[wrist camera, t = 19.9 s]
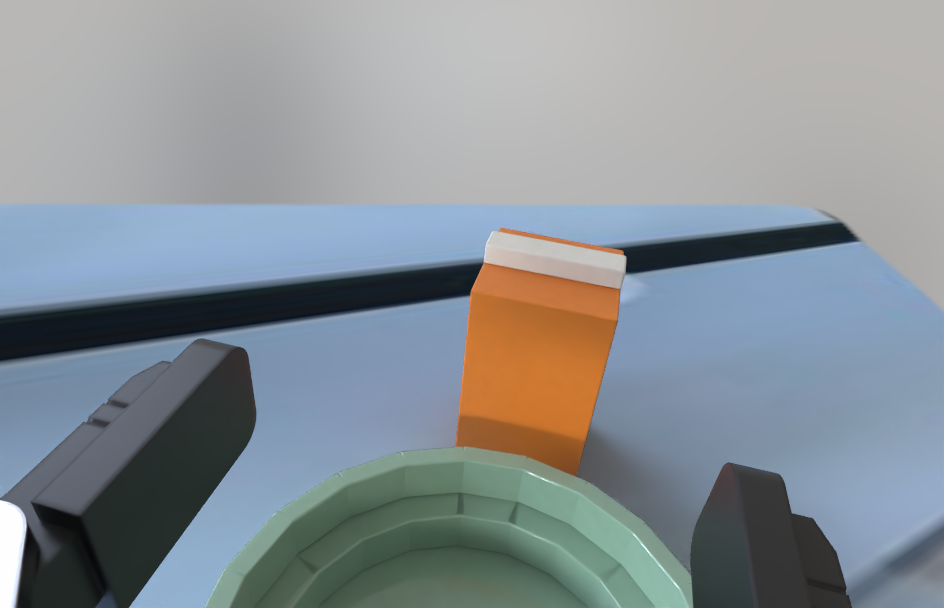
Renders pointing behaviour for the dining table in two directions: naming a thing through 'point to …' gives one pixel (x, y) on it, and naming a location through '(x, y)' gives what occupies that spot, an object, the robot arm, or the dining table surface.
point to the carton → (538, 345)
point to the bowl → (454, 541)
